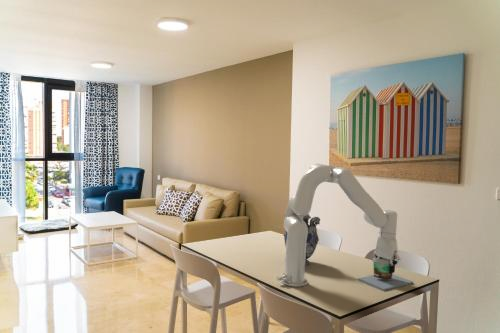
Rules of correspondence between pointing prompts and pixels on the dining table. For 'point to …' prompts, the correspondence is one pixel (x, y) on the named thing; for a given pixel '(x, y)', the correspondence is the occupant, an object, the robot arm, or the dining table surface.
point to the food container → (382, 268)
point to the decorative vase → (309, 236)
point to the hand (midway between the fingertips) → (385, 270)
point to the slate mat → (385, 282)
